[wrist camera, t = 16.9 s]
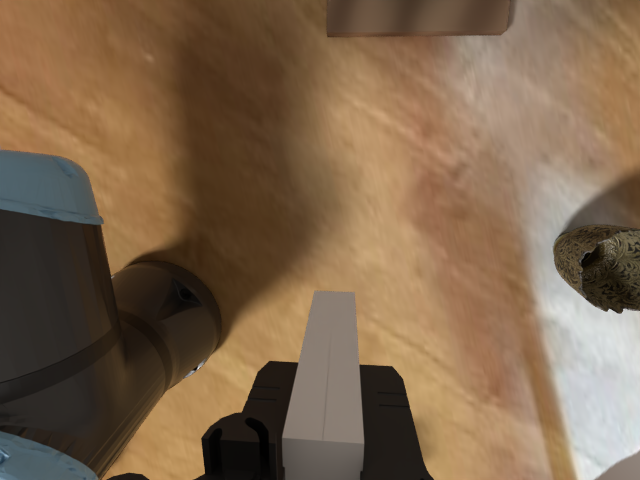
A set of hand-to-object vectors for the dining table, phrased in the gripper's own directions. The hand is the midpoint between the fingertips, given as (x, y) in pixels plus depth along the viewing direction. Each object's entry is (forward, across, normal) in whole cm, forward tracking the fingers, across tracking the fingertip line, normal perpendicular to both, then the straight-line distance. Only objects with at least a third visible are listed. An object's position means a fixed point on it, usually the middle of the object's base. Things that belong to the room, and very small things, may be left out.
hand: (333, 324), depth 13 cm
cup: (+25, -24, +3) cm, 35 cm away
